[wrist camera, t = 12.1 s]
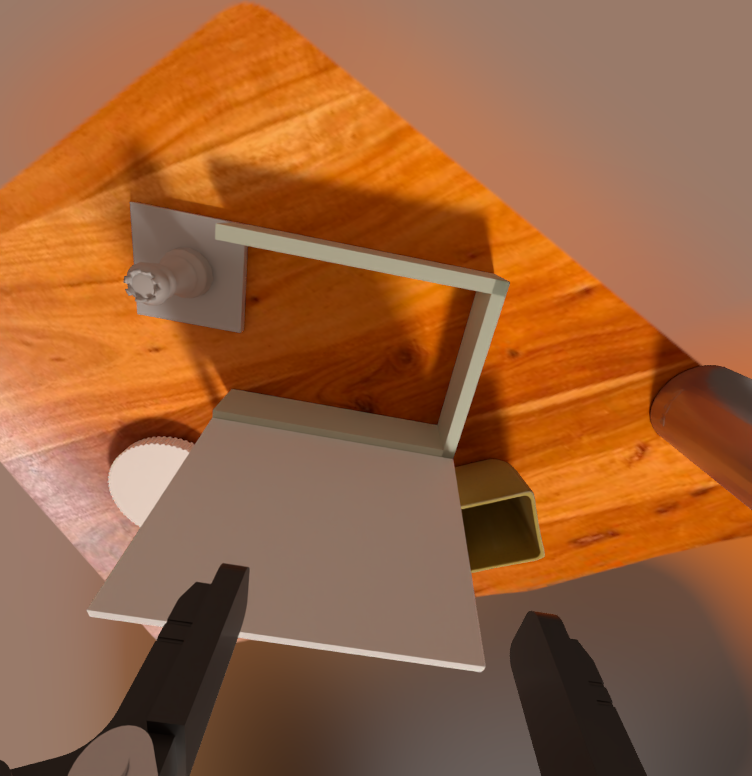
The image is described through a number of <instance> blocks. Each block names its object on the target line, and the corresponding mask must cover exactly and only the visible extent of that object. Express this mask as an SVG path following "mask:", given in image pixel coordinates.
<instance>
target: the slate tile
mask: <svg viewBox="0 0 752 776" xmlns="http://www.w3.org/2000/svg"><path fill="white" fill-rule="evenodd" d="M130 212H131V226H132V241H133V255H134V264H137V263H139V262H147V263H150V264H151V263H160V260H161V259H162V258H163V256H164V255H165V254H166V253H167V252H169V251H171V250H174V249H177V248H179V247H185V248H191V249H193V250H196V251H198V252H200V253H201V254H202V255H203V256H204V257H205V258H206V259H207V261H208V263H209V265H210V266H211V268H212V274H213V281H212V284H211V288H210V289H209V290H208V291H207V292H206V293H205V294H204V295H201V296H199V297H194V298H181V297H179V296H176V295H174V294H173V296H172V297H170V298H167V300H166V301H165V302H164V303H162V304H160V305H158V306H149V305H146V304H144V303H139V302H137V314H140V315H146V316H151V317H157V318H162V319H167V320H173V321H178V322H184V323H189V324H194V325H200V326H205V327H211V328H216V329H222V330H227V331H232V332H238V333H241V332H242V331H244V319H245V298H246V277H247V255H248V246H246V245H241V244H236V243H231V242H226V241H221V240H216V239H215V226H216V223H238V222H233V221H228V220H224V219H219V218H214V217H209V216H204V215H199V214H194V213H189V212H184V211H179V210H174V209H169V208H164V207H159V206H154V205H149V204H144V203H139V202H130ZM239 224H243V223H239ZM244 225H248V224H244Z"/></svg>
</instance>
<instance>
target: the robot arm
mask: <svg viewBox="0 0 752 776" xmlns="http://www.w3.org/2000/svg"><path fill="white" fill-rule="evenodd" d="M650 417H651V423H652V426H653V428H654V430H655V431H656V432H657V434H658V435H660V436H661V437H662V438H663V439H665V440H666V441H667V442H668V443H670V444H671V445H672V446H673V447H675V448H676V449H677V450H678V451H679V452H681V453H682V454H683V455H684V456H685V457H687V458H688V459H689V460H690V461H692V462H693V463H694V464H695V465H697V466H698V467H699V468H700V469H702V470H703V471H704V472H705V473H707V474H708V475H709V476H710V477H712V478H713V479H714V480H715V481H717V482H718V483H719V484H720V485H721V486H723V487H724V488H725V489H726V490H728V491H729V492H730V493H731V494H733V495H734V496H735V497H736V498H738V499H739V500H740V501H741V502H743V503H744V504H745V505H746V506H748V507H749V508H750V509H751V510H752V379H750V378H748V377H745V376H743V375H741V374H739V373H736V372H734V371H732V370H730V369H727V368H725V367H721V366H716V365H705V366H700V367H695V368H692V369H690V370H687V371H685V372H683V373H681V374H679V375H677V376H676V377H674V378H673V379H672V380H670V381H669V382H668V383H667V384H666V385H665V386H664V387H663V388H662V389H661V390H660V392H659V393H658V395H657V396H656V398H655V400H654V402H653V404H652V407H651V413H650ZM249 573H250V568H249V567H246V566H240V565H233V564H226V563H222V564H221V565H220V567H219V569H218V571H217V573H216V575H215V577H214V579H213V581H212V583H211V584H208V583H202V582H195V583H194V584H193V585H192V586H191V587H190V588H189V589H188V590H187V591H186V592H185V593H184V594H183V595H182V596H181V597H179V599H178V600H177V602H176V604H175V606H174V608H173V610H172V612H171V613H170V615H169V617H168V619H167V622H166V623H165V624H164V626H163V628H162V630H161V632H160V634H159V636H158V639H157V641H155V643H154V645H153V647H152V648H151V651H150V652H149V654H148V656H147V658H146V660H145V661H144V663H143V665H142V667H141V669H140V671H139V672H138V674H137V676H136V678H135V680H134V682H133V684H132V685H131V687H130V689H129V691H128V693H127V695H126V696H125V698H124V700H123V702H122V704H121V706H120V707H119V709H118V711H117V713H116V714H115V716H114V718H113V719H112V720H111V721H110V723H109V724H108V725H107V726H106V727H105V728H104V729H103V731H102V732H101V733H99V734H98V735H97V736H96V737H95V738H94V739H93V740H91V741H90V742H89V743H87V744H86V745H84V746H82V747H81V748H79V749H77V750H76V751H74V752H71V753H69V754H67V755H63V756H60V757H57V758H53V759H49V760H46V761H42V762H38V763H35V764H30V765H27V766H22V767H19V768H15V769H11V770H10V769H9V767H8V765H7V764H6V763H5V762H3V761H1V760H0V776H189V775H190V773H191V770H192V767H193V764H194V761H195V758H196V755H197V752H198V750H199V747H200V744H201V741H202V738H203V735H204V733H205V730H206V727H207V724H208V721H209V718H210V716H211V712H212V710H213V707H214V704H215V701H216V698H217V695H218V693H219V689H220V687H221V684H222V681H223V678H224V676H225V673H226V670H227V667H228V664H229V661H230V659H231V656H232V653H233V650H234V647H235V644H236V641H237V639H238V636H239V633H240V630H241V627H242V624H243V621H244V617H245V613H246V608H247V600H248V587H249ZM510 663H511V668H512V672H513V675H514V679H515V683H516V686H517V690H518V694H519V697H520V701H521V704H522V708H523V712H524V715H525V719H526V722H527V726H528V730H529V733H530V737H531V740H532V744H533V748H534V751H535V754H536V758H537V762H538V766H539V769H540V773H541V776H647V775H646V773H645V770H644V768H643V766H642V764H641V762H640V760H639V758H638V755H637V753H636V751H635V749H634V747H633V745H632V743H631V740H630V738H629V736H628V734H627V732H626V730H625V728H624V726H623V723H622V721H621V719H620V717H619V715H618V713H617V711H616V709H615V707H613V705H612V700H611V698H610V695H609V693H608V691H607V689H606V688H605V687H604V685H603V684H604V683H603V681H602V678H601V676H600V674H599V672H598V670H597V668H596V665H595V663H594V661H593V660H592V658H591V657H590V656H589V654H588V653H587V652H586V651H585V649H584V648H583V647H582V646H581V644H580V643H579V642H578V640H575V639H570V638H569V636H568V634H567V631H566V629H565V627H564V624H563V622H562V620H561V619H560V618H559V617H558V616H557V615H553V614H547V613H541V612H534V611H529V612H528V613H527V614H526V616H525V618H524V620H523V622H522V624H521V626H520V628H519V630H518V631H517V633H516V636H515V637H514V639H513V641H512V643H511V648H510Z"/></svg>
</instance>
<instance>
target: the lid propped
mask: <svg viewBox="0 0 752 776" xmlns="http://www.w3.org/2000/svg"><path fill="white" fill-rule="evenodd" d="M222 563H226V564H233V565H240V566H246V567H249V568H250V573H249V587H248V600H247V608H246V613H245V617H244V621H243V624H242V627H241V630H240V633H239V636H238V638H244V639H251V640H258V641H265V642H272V643H279V644H286V645H294V646H301V647H308V648H315V649H322V650H329V651H336V652H343V653H350V654H357V655H364V656H371V657H378V658H386V659H392V660H399V661H407V662H414V663H421V664H427V665H435V666H442V667H448V668H456V669H462V670H470V671H476V672H482V671H483V670H484V669H485V667H486V665H485V659H484V653H483V647H482V640H481V633H480V627H479V621H478V614H477V608H476V602H475V595H474V589H473V582H472V576H471V570H470V563H469V557H468V550H467V544H466V538H465V531H464V525H463V518H462V512H461V506H460V499H459V493H458V487H457V480H456V474H455V467H454V461H453V459H450V458H444V457H438V456H432V455H426V454H421V453H415V452H409V451H403V450H397V449H392V448H386V447H380V446H374V445H368V444H363V443H357V442H351V441H345V440H339V439H334V438H328V437H322V436H316V435H310V434H305V433H299V432H293V431H287V430H282V429H276V428H270V427H264V426H258V425H253V424H247V423H241V422H235V421H229V420H224V419H218V418H212V419H211V421H210V422H209V424H208V425H207V427H206V428H205V430H204V431H203V433H202V434H201V436H200V437H199V439H198V440H197V442H196V444H195V445H194V447H193V448H192V450H191V451H190V453H189V454H188V456H187V457H186V459H185V460H184V462H183V463H182V465H181V466H180V468H179V469H178V471H177V473H176V474H175V476H174V477H173V479H172V480H171V482H170V483H169V485H168V486H167V488H166V489H165V491H164V492H163V494H162V495H161V497H160V498H159V500H158V502H157V503H156V505H155V506H154V508H153V509H152V511H151V512H150V514H149V515H148V517H147V518H146V520H145V521H144V523H143V524H142V526H141V527H140V529H139V531H138V532H137V534H136V535H135V537H134V538H133V540H132V541H131V543H130V544H129V546H128V547H127V549H126V550H125V552H124V553H123V555H122V556H121V558H120V560H119V561H118V563H117V564H116V566H115V567H114V569H113V570H112V572H111V573H110V575H109V576H108V578H107V579H106V581H105V582H104V584H103V585H102V587H101V589H100V590H99V592H98V593H97V595H96V596H95V598H94V599H93V601H92V602H91V604H90V605H89V607H88V609H87V612H88V614H89V616H90V617H97V618H104V619H110V620H118V621H125V622H132V623H139V624H146V625H153V626H160V627H163V626H164V624H165V623H166V622H167V619H168V617H169V615H170V613H171V612H172V610H173V608H174V606H175V604H176V602H177V600H178V599H179V597H181V596H182V595H183V594H184V593H185V592H186V591H187V590H188V589H189V588H190V587H191V586H192V585H193V584H194V583H195V582H202V583H208V584H211V583H212V581H213V579H214V577H215V575H216V573H217V571H218V569H219V567H220V565H221V564H222Z"/></svg>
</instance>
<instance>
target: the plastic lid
mask: <svg viewBox="0 0 752 776" xmlns="http://www.w3.org/2000/svg"><path fill="white" fill-rule="evenodd" d="M193 447H194V444H193V443H192V442H191V443H189V442H188V441H187V440H185V441H184V440H183V439H177V438H176V437H174V438H172V437H168V438H167V437H166V436H163V437H160V436H158V437H157V438H156V437H152V438H150V437H148V438H147V439H142V440H139V441H138V442H135V443H133V444H132V445H130V446H129V447H128V448H127V449H125V450H124V451H123V452H122V453H121V454H120V455H119V456H118V457H117V458H116V460H115V461H114V462H113V464H112V465H111V468H110V472H109V476H108V478H109V480H108V483H109V485H108V487H110V489H109V491H111V493H110V494H111V495H112V496H113V497H112V499H113V500H115V502H114V503H115V504H117V507H118V508H120V511H121V512H123V514H124V515H126V516H127V518H128V519H131V522H134V523H135V524H136V525H139V527H141V526H142V524H143V523H144V521H145V520H146V518H147V517H148V515H149V514H150V512H151V511H152V509H153V508H154V506H155V505H156V503H157V502H158V500H159V498H160V497H161V495H162V494H163V492H164V491H165V489H166V488H167V486H168V485H169V483H170V482H171V480H172V479H173V477H174V476H175V474H176V473H177V471H178V469H179V468H180V466H181V465H182V463H183V462H184V460H185V459H186V457H187V456H188V454H189V453H190V451H191V450H192V448H193Z"/></svg>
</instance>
